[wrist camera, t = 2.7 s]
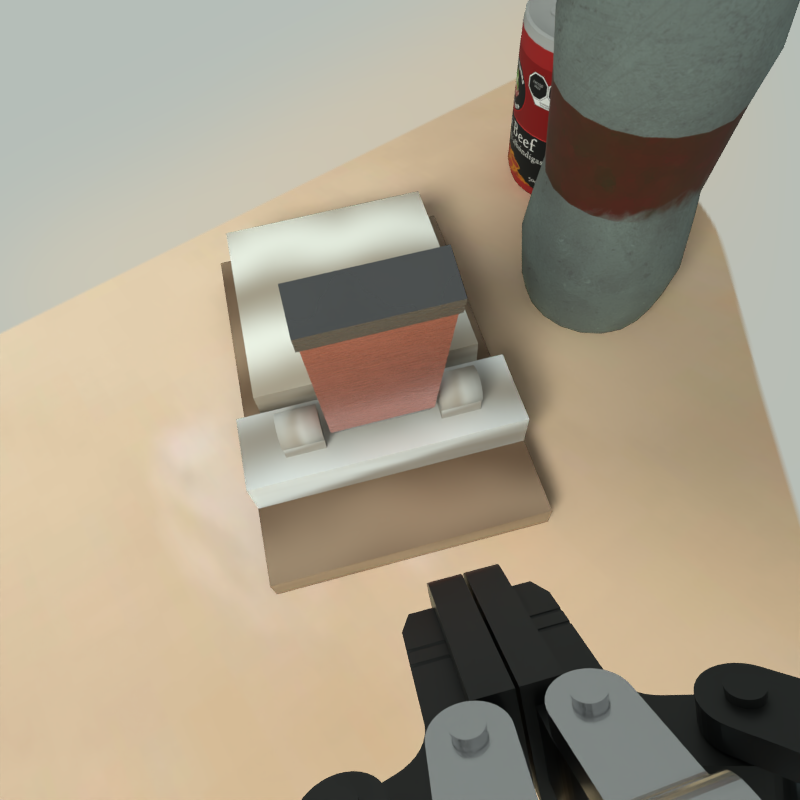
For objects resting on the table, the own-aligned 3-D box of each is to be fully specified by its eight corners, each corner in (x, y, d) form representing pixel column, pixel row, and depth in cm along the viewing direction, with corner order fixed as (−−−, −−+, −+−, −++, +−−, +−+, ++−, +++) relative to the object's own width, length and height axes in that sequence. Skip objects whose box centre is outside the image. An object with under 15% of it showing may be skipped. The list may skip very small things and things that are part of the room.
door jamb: (547, 521, 33) (567, 474, 28) (277, 594, 32) (246, 559, 27) (434, 232, 43) (433, 159, 38) (227, 279, 42) (198, 210, 37)
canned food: (503, 135, 48) (519, -24, 39) (612, 132, 48) (656, -29, 38) (509, 208, 44) (529, 52, 35) (628, 206, 44) (681, 47, 34)
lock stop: (435, 415, 32) (467, 298, 19) (331, 441, 31) (290, 340, 18) (425, 381, 32) (450, 244, 19) (323, 406, 32) (277, 283, 19)
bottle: (681, 337, 38) (1194, -590, 12) (526, 348, 38) (710, -544, 12) (642, 222, 43) (954, -621, 17) (504, 232, 43) (606, -587, 17)
